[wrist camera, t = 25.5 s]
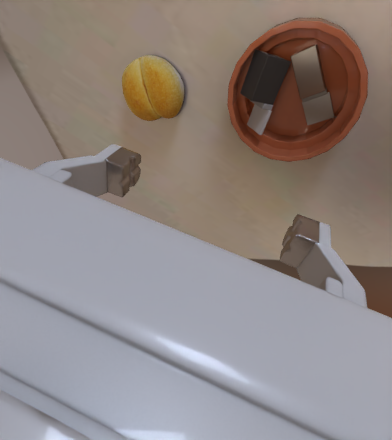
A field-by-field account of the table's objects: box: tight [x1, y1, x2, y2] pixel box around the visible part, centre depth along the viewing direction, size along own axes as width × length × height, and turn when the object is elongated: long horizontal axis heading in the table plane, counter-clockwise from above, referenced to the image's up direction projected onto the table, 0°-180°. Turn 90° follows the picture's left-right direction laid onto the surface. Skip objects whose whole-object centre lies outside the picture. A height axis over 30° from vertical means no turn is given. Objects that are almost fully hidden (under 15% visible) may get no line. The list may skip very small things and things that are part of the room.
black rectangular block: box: [240, 49, 291, 135], centre depth 31 cm, size 8×3×3 cm
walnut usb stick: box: [290, 45, 334, 125], centre depth 31 cm, size 8×3×3 cm, turn 26°
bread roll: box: [122, 55, 184, 121], centre depth 38 cm, size 8×9×4 cm
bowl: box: [228, 18, 368, 161], centre depth 32 cm, size 14×14×5 cm
